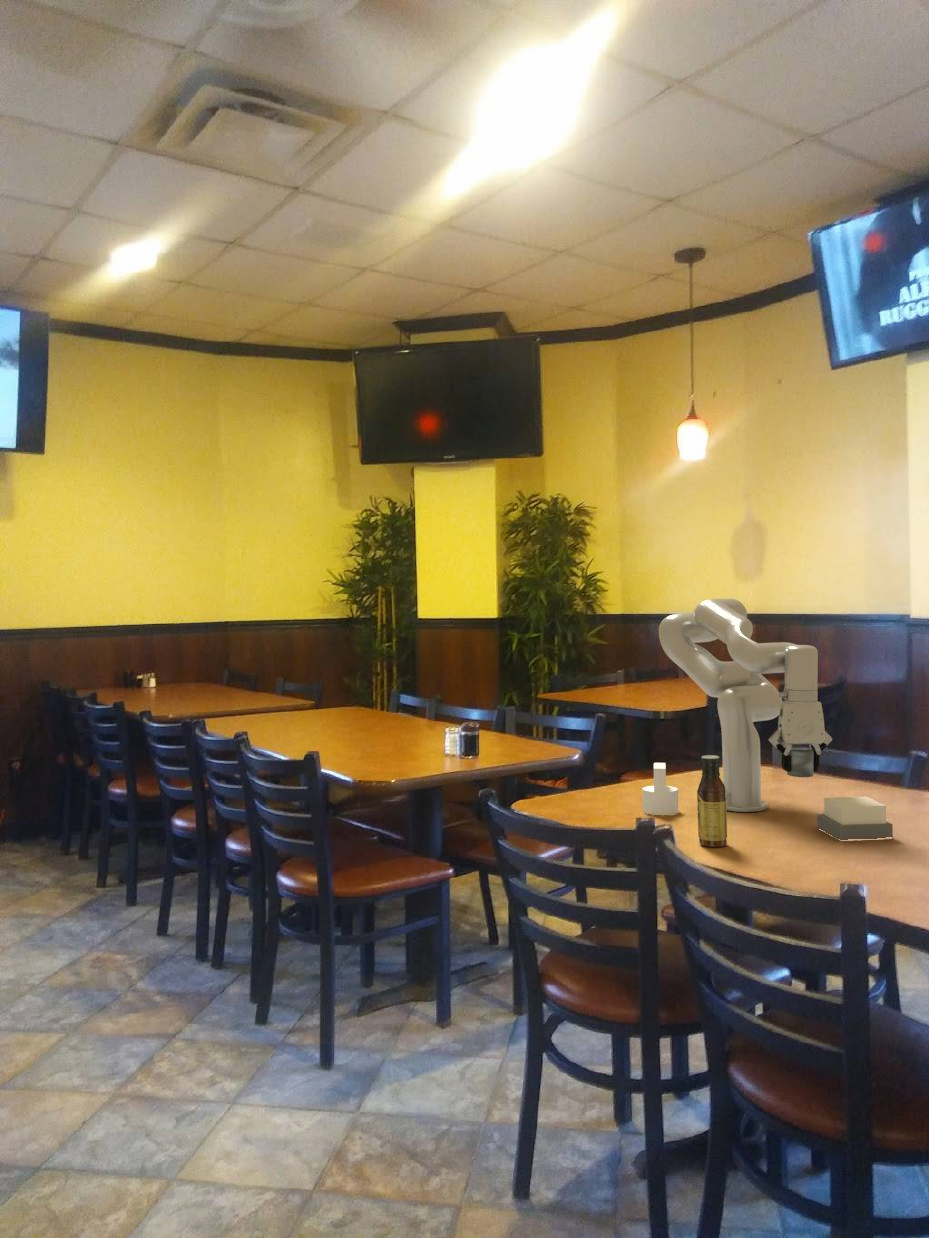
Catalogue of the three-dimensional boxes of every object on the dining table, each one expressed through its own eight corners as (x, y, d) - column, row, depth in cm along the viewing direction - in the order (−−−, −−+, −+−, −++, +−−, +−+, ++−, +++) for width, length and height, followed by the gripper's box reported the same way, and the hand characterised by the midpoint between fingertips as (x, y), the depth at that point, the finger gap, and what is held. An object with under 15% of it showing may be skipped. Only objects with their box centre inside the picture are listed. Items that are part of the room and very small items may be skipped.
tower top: (842, 824, 215) (841, 806, 215) (824, 814, 225) (824, 797, 225) (886, 823, 215) (886, 805, 215) (866, 813, 225) (866, 796, 225)
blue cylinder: (793, 777, 229) (793, 752, 229) (783, 772, 235) (783, 748, 235) (817, 776, 229) (817, 752, 229) (806, 771, 235) (807, 747, 235)
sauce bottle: (706, 839, 218) (704, 752, 218) (732, 843, 214) (730, 755, 214) (693, 846, 213) (691, 756, 213) (719, 850, 209) (718, 759, 209)
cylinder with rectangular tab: (678, 816, 242) (677, 768, 242) (642, 815, 244) (641, 768, 244) (678, 808, 251) (677, 762, 251) (643, 807, 253) (642, 762, 252)
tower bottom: (840, 844, 214) (840, 826, 214) (817, 831, 226) (817, 814, 226) (892, 841, 215) (892, 824, 214) (866, 829, 226) (866, 812, 226)
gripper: (772, 699, 227) (771, 774, 228) (842, 697, 228) (841, 772, 229) (760, 695, 234) (759, 768, 235) (828, 693, 236) (827, 766, 237)
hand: (800, 769), depth 232 cm, fingers closed on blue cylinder, 6 cm apart
